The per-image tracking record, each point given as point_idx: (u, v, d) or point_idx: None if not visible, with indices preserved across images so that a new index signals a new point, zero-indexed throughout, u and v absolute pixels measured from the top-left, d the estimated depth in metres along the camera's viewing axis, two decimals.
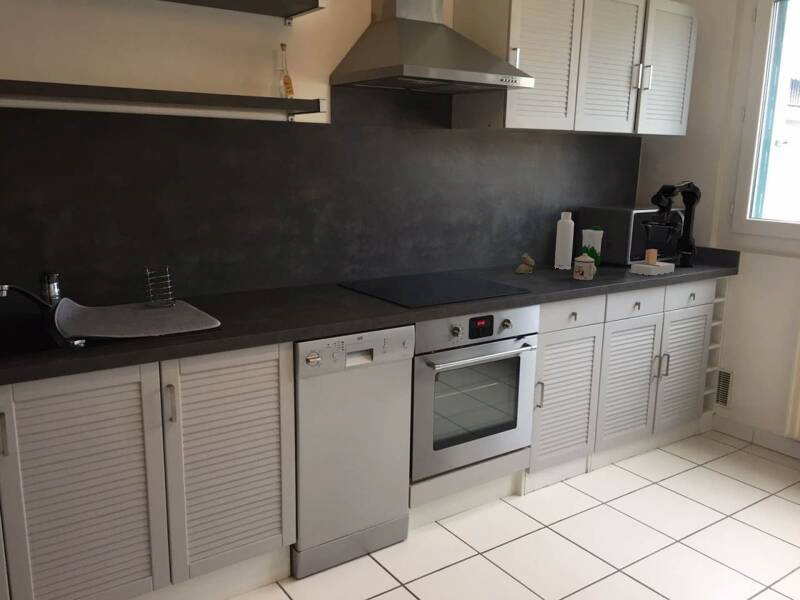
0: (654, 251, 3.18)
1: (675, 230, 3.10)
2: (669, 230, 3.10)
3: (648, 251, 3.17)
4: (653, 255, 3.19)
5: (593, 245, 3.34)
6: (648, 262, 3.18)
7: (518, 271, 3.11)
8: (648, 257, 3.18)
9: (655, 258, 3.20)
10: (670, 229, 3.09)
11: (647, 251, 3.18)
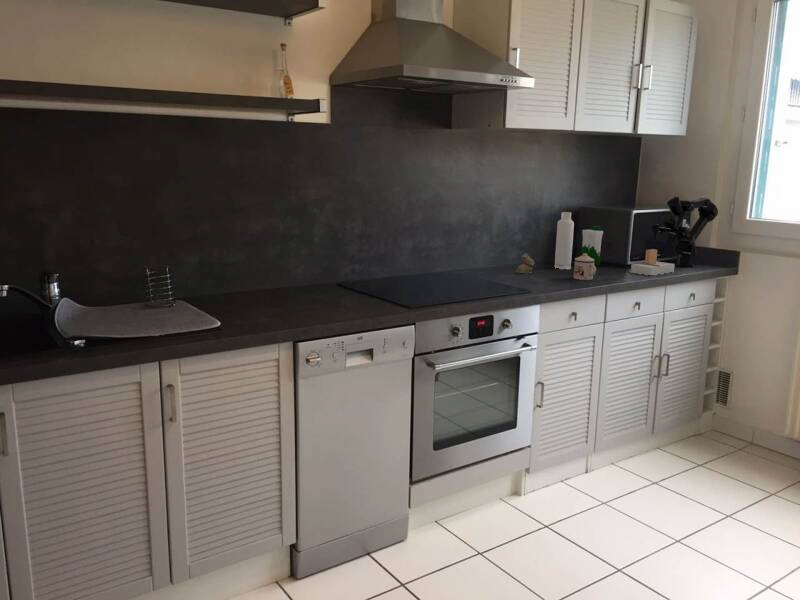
0: (654, 251, 3.18)
1: (682, 236, 3.20)
2: (676, 233, 3.19)
3: (648, 251, 3.17)
4: (653, 255, 3.19)
5: (593, 245, 3.34)
6: (648, 262, 3.18)
7: (518, 271, 3.11)
8: (648, 257, 3.18)
9: (655, 258, 3.20)
10: (678, 232, 3.19)
11: (647, 251, 3.18)
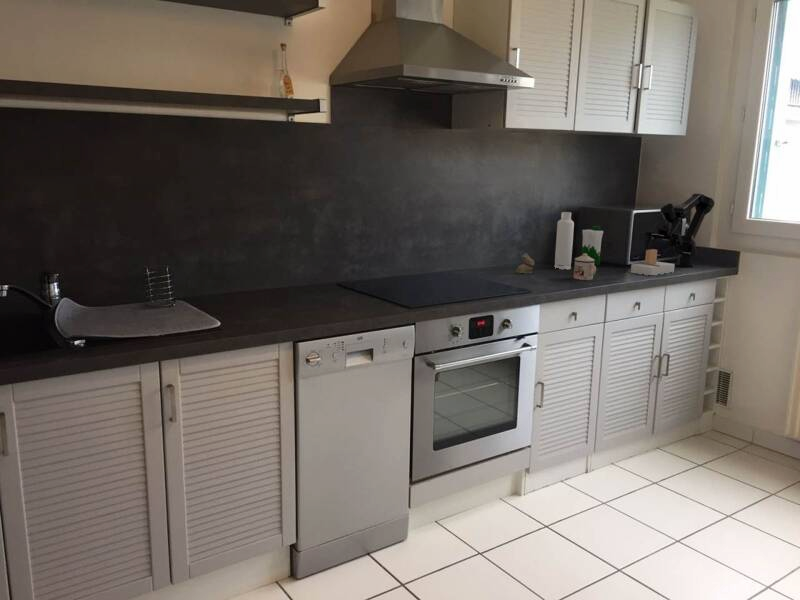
0: (654, 251, 3.18)
1: (675, 243, 3.17)
2: (669, 240, 3.17)
3: (648, 251, 3.17)
4: (653, 255, 3.19)
5: (593, 245, 3.34)
6: (648, 262, 3.18)
7: (518, 271, 3.11)
8: (648, 257, 3.18)
9: (655, 258, 3.20)
10: (671, 239, 3.16)
11: (647, 251, 3.18)
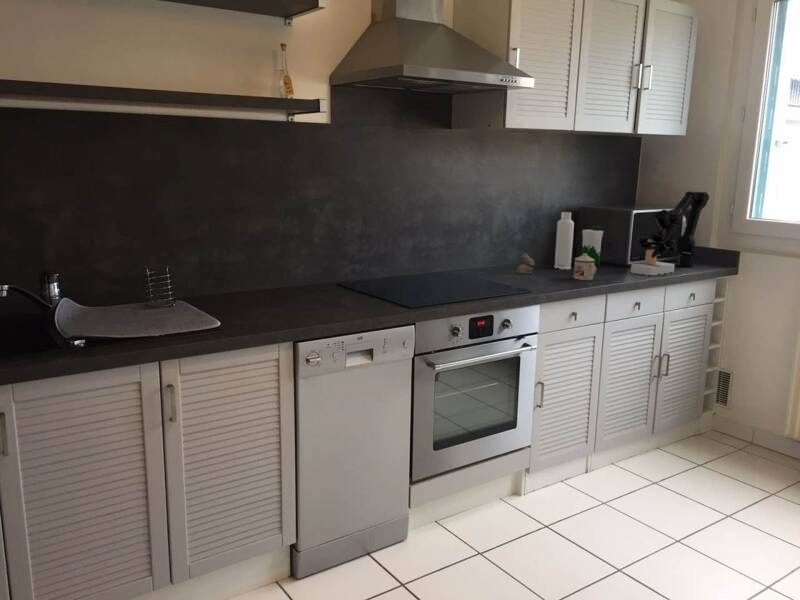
0: None
1: (663, 248, 3.18)
2: (658, 246, 3.17)
3: (648, 251, 3.17)
4: None
5: (593, 245, 3.34)
6: (648, 262, 3.18)
7: (518, 271, 3.11)
8: (648, 257, 3.18)
9: (655, 258, 3.20)
10: (659, 245, 3.17)
11: (647, 251, 3.18)
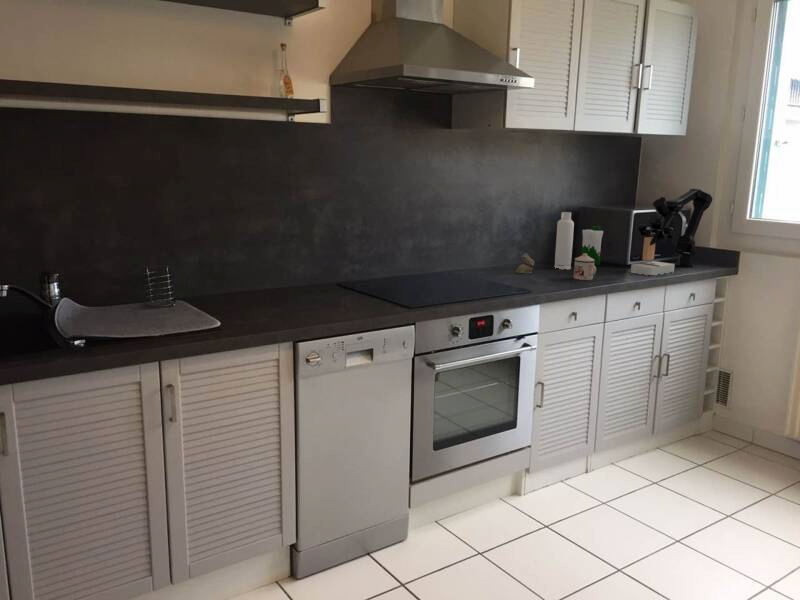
0: (652, 238, 3.19)
1: (662, 236, 3.18)
2: (656, 233, 3.18)
3: (646, 238, 3.18)
4: None
5: (593, 245, 3.34)
6: (646, 249, 3.19)
7: (518, 271, 3.11)
8: (646, 244, 3.18)
9: (654, 246, 3.21)
10: (657, 232, 3.17)
11: (645, 238, 3.18)
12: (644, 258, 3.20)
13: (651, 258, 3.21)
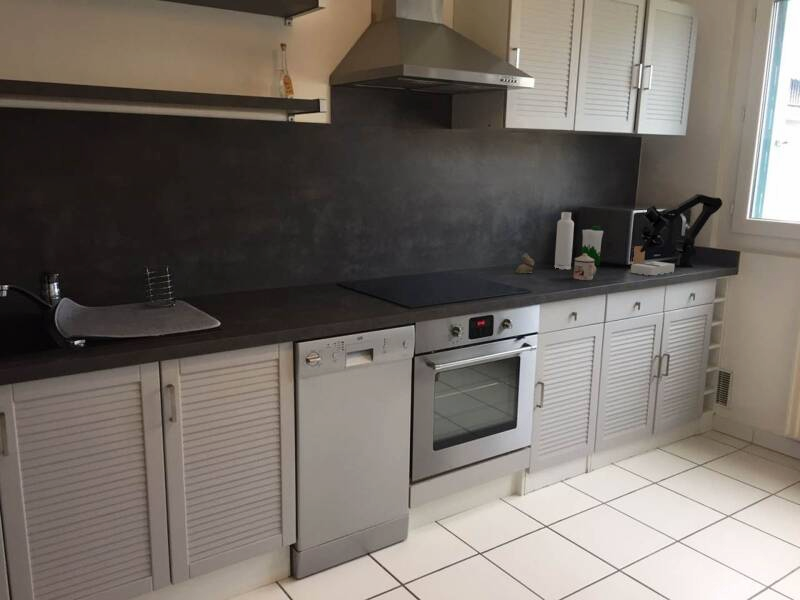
0: (641, 247, 3.31)
1: (653, 244, 3.28)
2: (647, 241, 3.28)
3: (634, 247, 3.30)
4: None
5: (593, 245, 3.34)
6: (634, 258, 3.31)
7: (518, 271, 3.11)
8: (634, 253, 3.31)
9: (643, 254, 3.32)
10: (648, 240, 3.27)
11: None
12: None
13: None
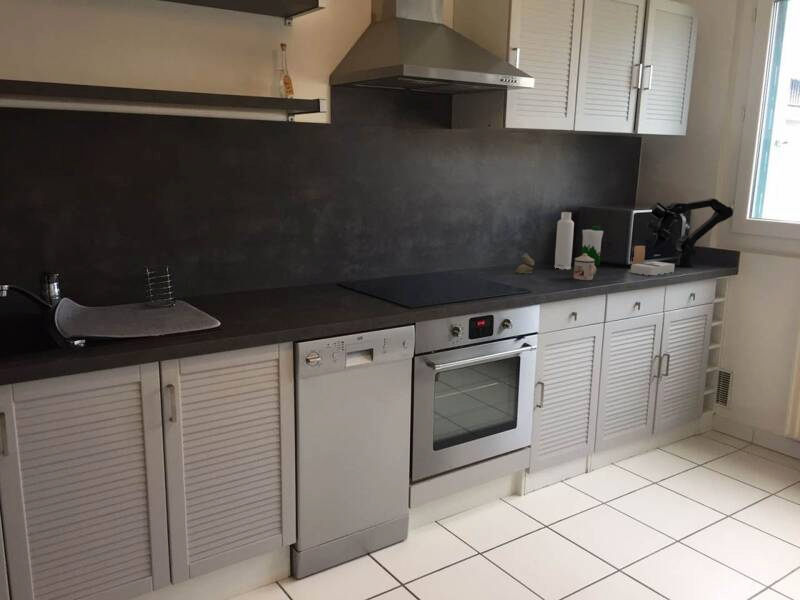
0: (641, 247, 3.31)
1: (662, 237, 3.28)
2: (656, 236, 3.30)
3: (634, 247, 3.30)
4: (640, 251, 3.31)
5: (593, 245, 3.34)
6: (634, 258, 3.31)
7: (518, 271, 3.11)
8: (634, 253, 3.31)
9: (643, 254, 3.32)
10: (656, 235, 3.29)
11: None
12: None
13: None
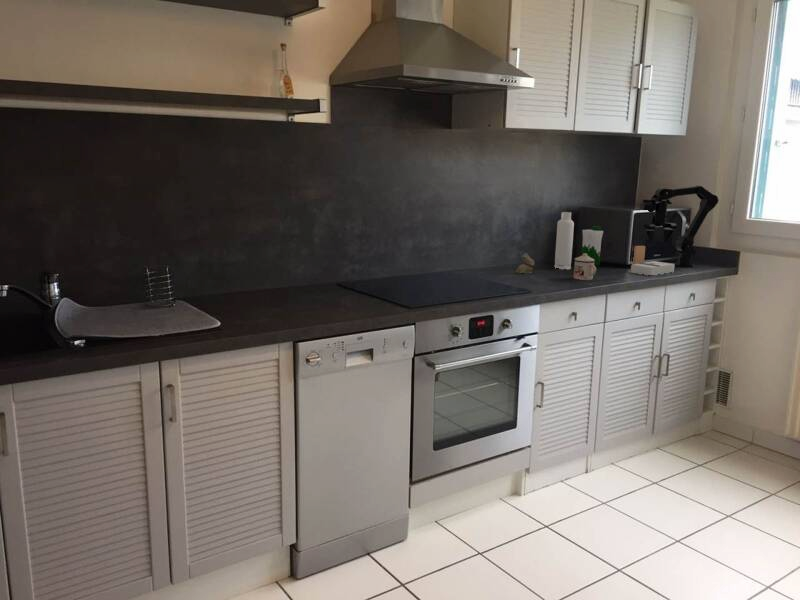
0: (641, 247, 3.31)
1: (648, 231, 3.33)
2: None
3: (634, 247, 3.30)
4: (640, 251, 3.31)
5: (593, 245, 3.34)
6: (634, 258, 3.31)
7: (518, 271, 3.11)
8: (634, 253, 3.31)
9: (643, 254, 3.32)
10: None
11: None
12: None
13: None
